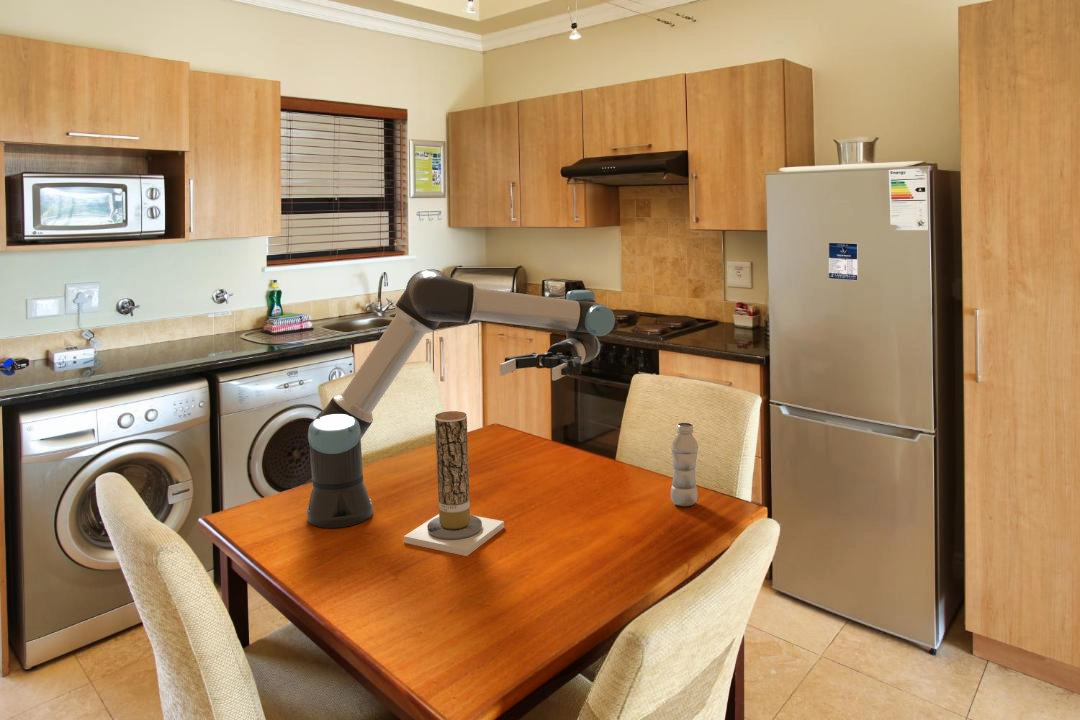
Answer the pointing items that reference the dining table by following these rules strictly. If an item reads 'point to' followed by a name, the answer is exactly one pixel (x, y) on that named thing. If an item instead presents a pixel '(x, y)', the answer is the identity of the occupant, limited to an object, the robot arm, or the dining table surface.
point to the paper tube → (452, 469)
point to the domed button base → (454, 535)
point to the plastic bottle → (684, 466)
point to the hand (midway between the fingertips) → (526, 372)
